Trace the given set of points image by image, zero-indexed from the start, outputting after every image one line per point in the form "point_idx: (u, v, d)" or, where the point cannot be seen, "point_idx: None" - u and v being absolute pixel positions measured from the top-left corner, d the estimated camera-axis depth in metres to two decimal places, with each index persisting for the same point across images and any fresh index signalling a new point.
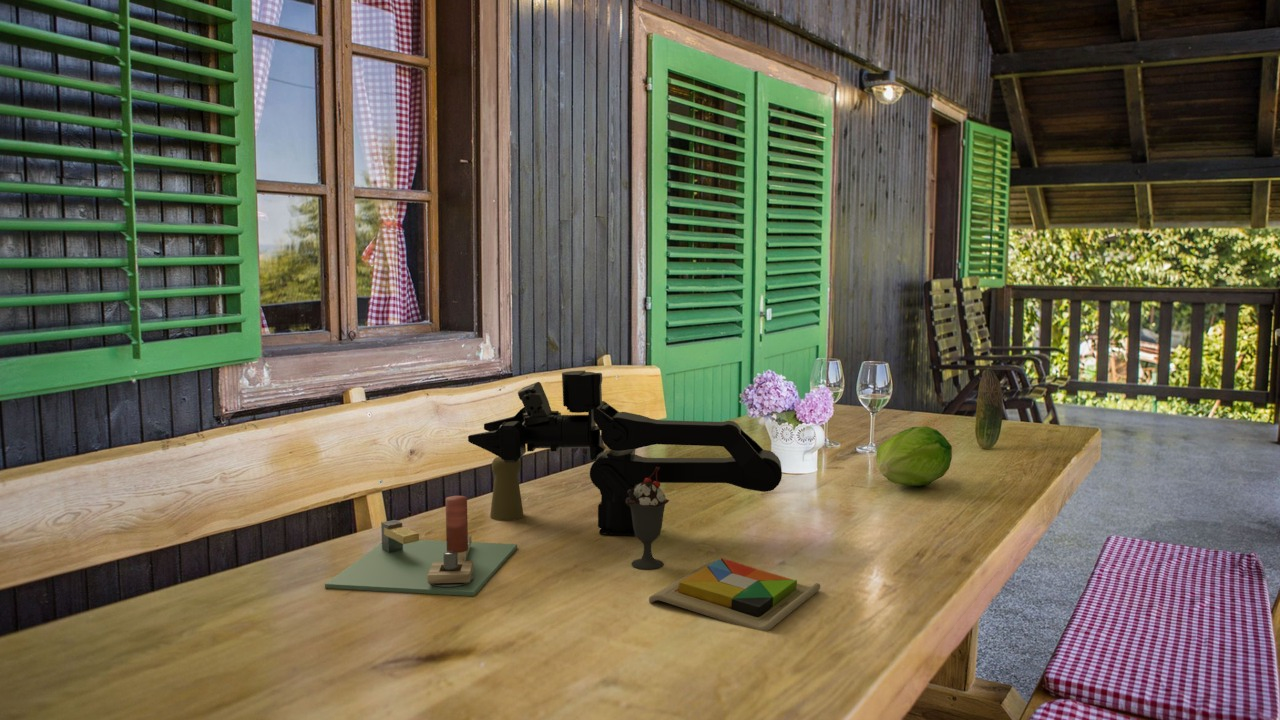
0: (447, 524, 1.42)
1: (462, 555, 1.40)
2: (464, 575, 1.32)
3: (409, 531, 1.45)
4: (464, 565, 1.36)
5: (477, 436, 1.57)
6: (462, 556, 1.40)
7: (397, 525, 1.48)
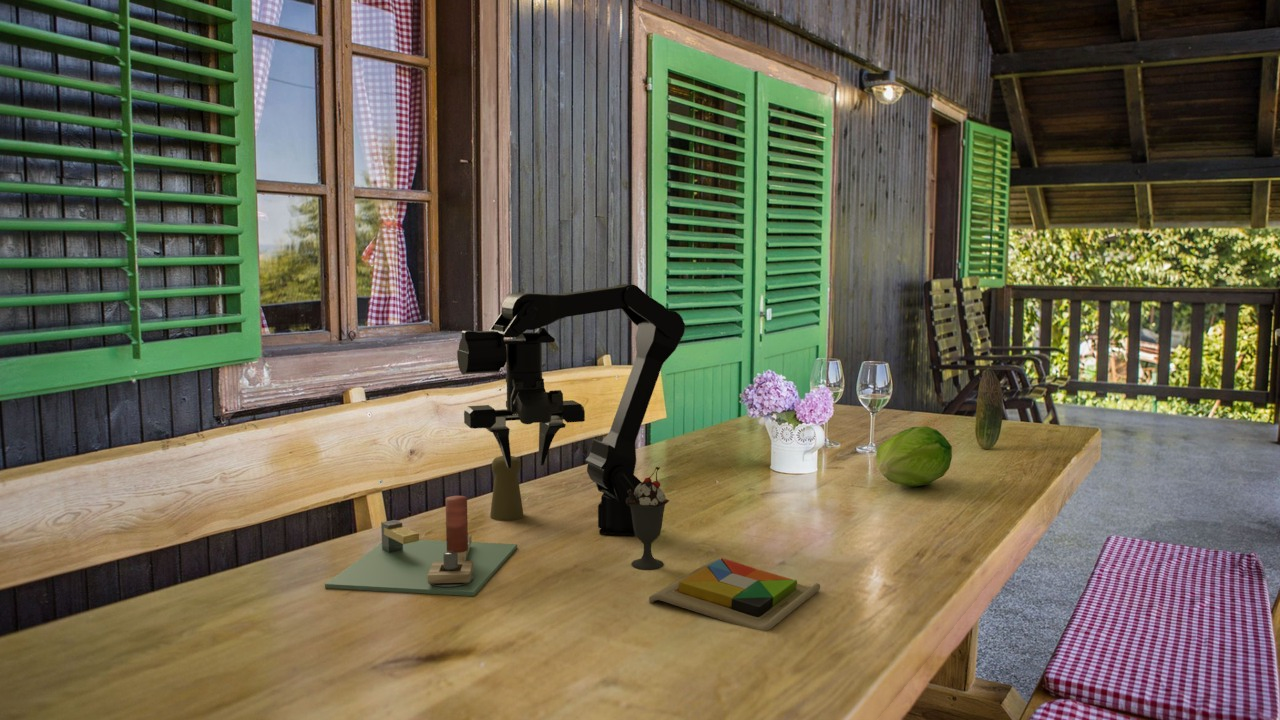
0: (447, 524, 1.42)
1: (462, 555, 1.40)
2: (464, 575, 1.32)
3: (409, 531, 1.45)
4: (464, 565, 1.36)
5: (546, 454, 1.53)
6: (462, 556, 1.40)
7: (397, 525, 1.48)
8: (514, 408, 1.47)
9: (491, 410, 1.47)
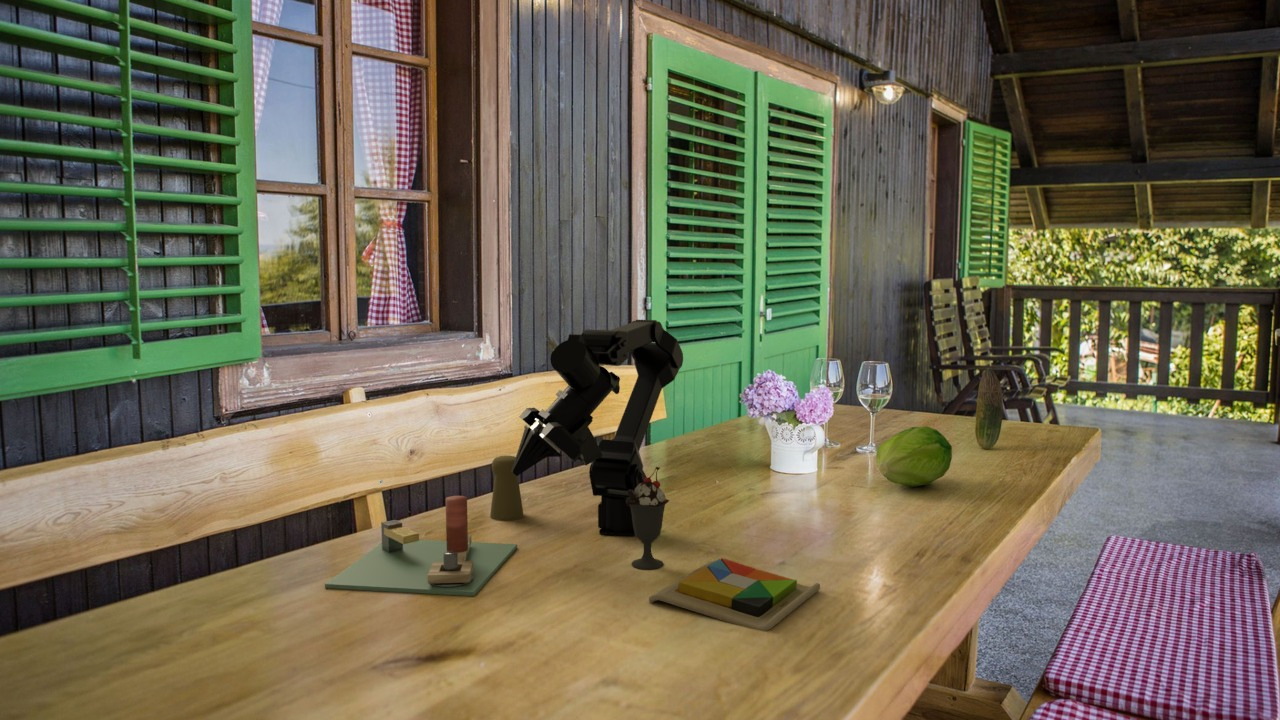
0: (447, 524, 1.42)
1: (462, 555, 1.40)
2: (464, 575, 1.32)
3: (409, 531, 1.45)
4: (464, 565, 1.36)
5: None
6: (462, 556, 1.40)
7: (397, 525, 1.48)
8: None
9: None
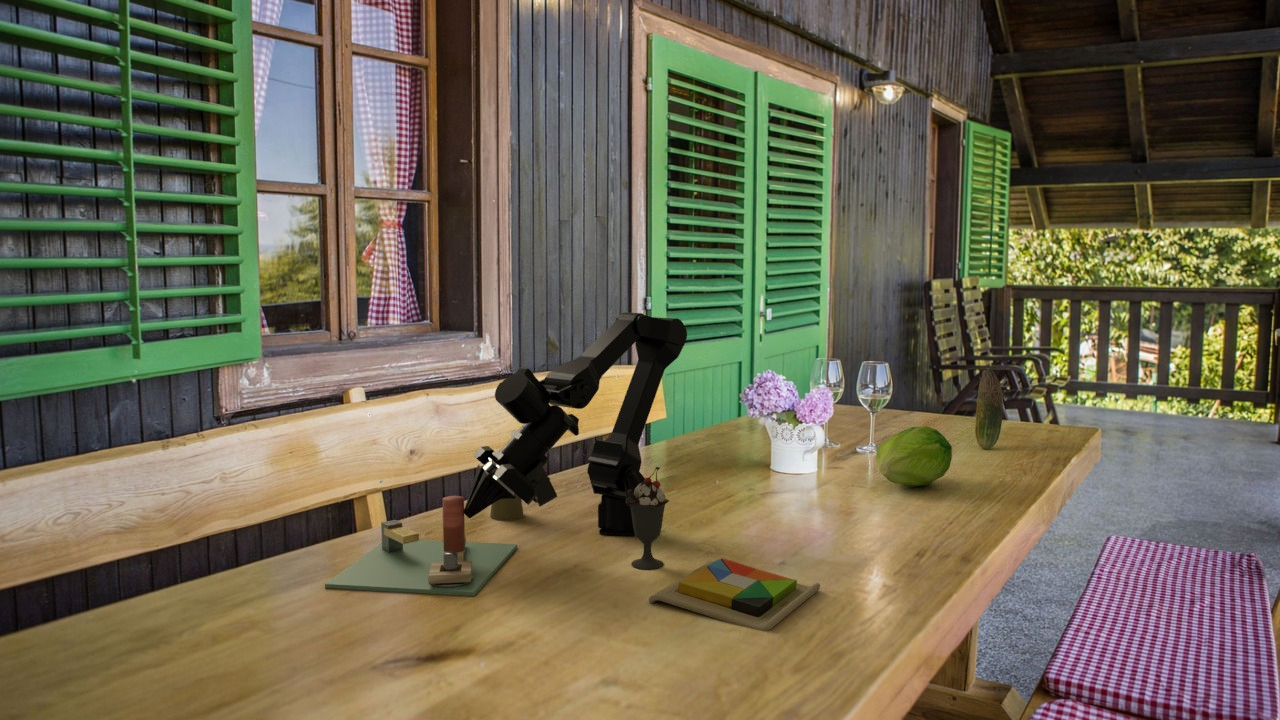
0: (444, 524, 1.42)
1: (460, 555, 1.40)
2: (465, 575, 1.32)
3: (409, 531, 1.45)
4: (464, 565, 1.36)
5: None
6: (461, 556, 1.40)
7: (397, 525, 1.48)
8: (530, 481, 1.43)
9: None
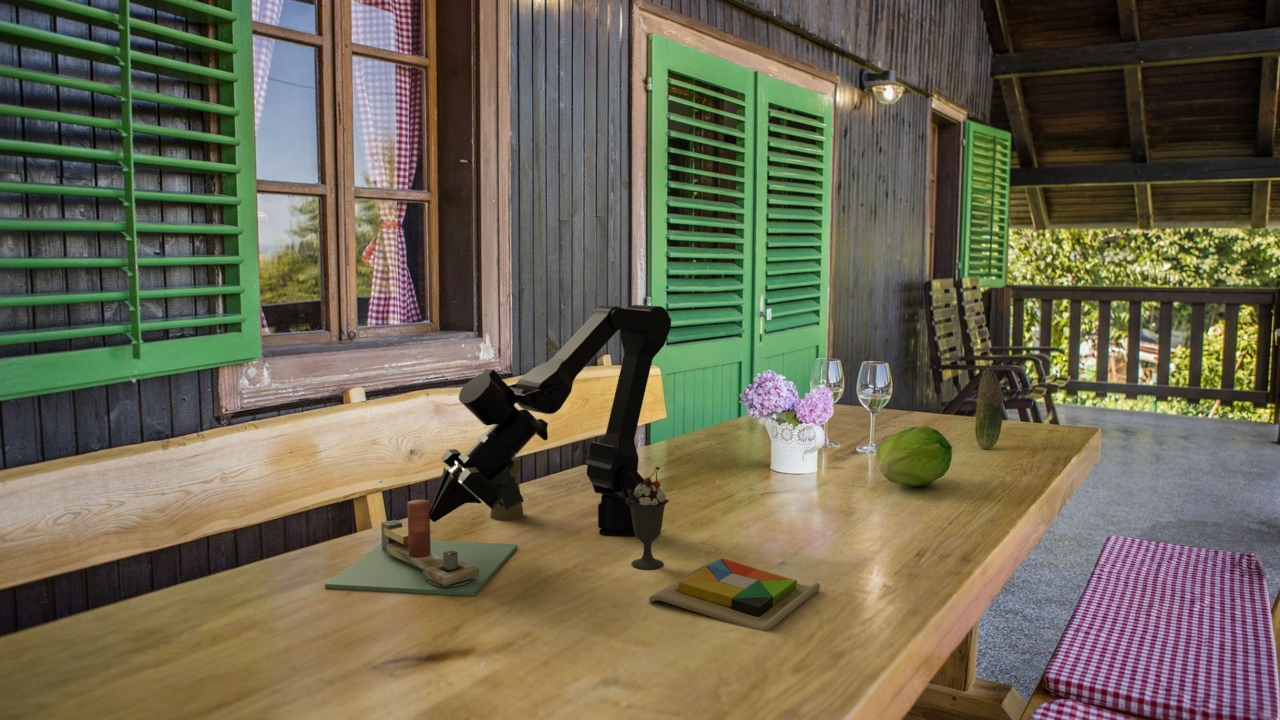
0: (414, 530, 1.39)
1: (436, 557, 1.39)
2: (475, 570, 1.34)
3: None
4: (458, 563, 1.37)
5: None
6: (439, 558, 1.39)
7: (397, 525, 1.48)
8: (496, 485, 1.42)
9: None
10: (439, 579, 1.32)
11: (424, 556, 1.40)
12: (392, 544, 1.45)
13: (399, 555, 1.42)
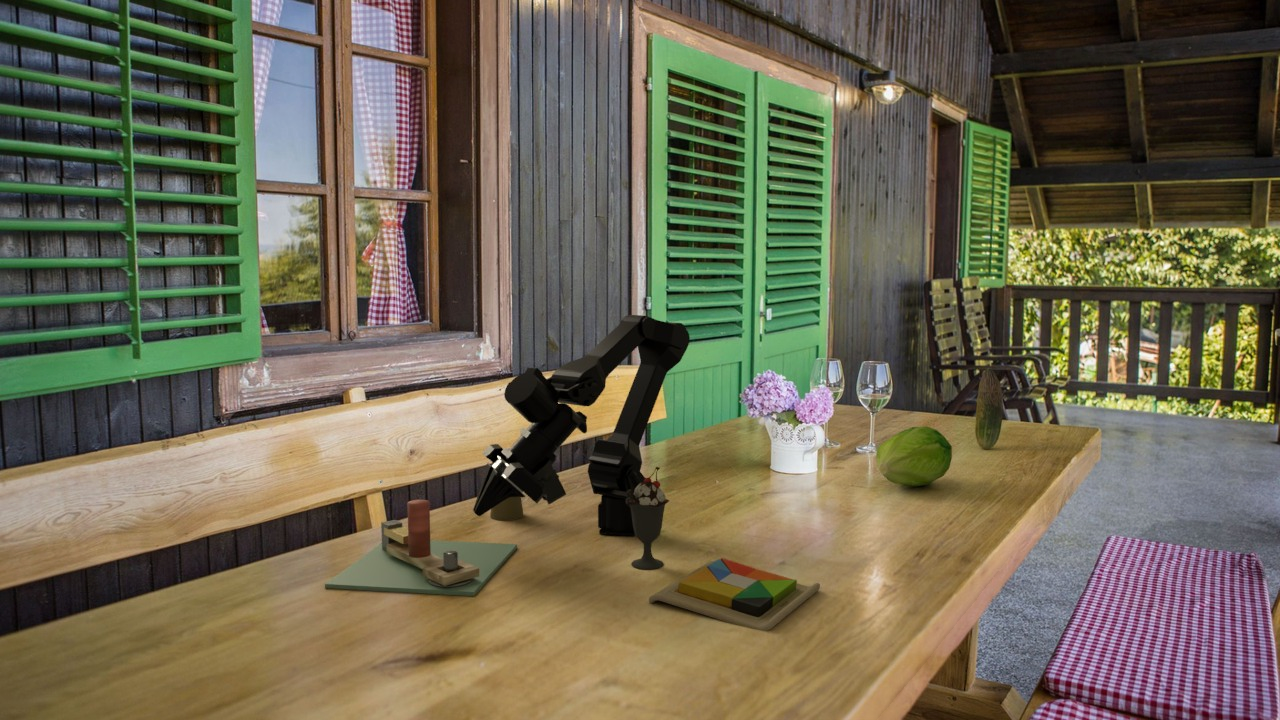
0: (414, 530, 1.39)
1: (436, 557, 1.39)
2: (475, 570, 1.34)
3: None
4: (458, 563, 1.37)
5: None
6: (439, 558, 1.39)
7: (397, 525, 1.48)
8: (539, 479, 1.44)
9: None
10: (439, 579, 1.32)
11: (424, 556, 1.40)
12: (392, 544, 1.45)
13: (399, 555, 1.42)
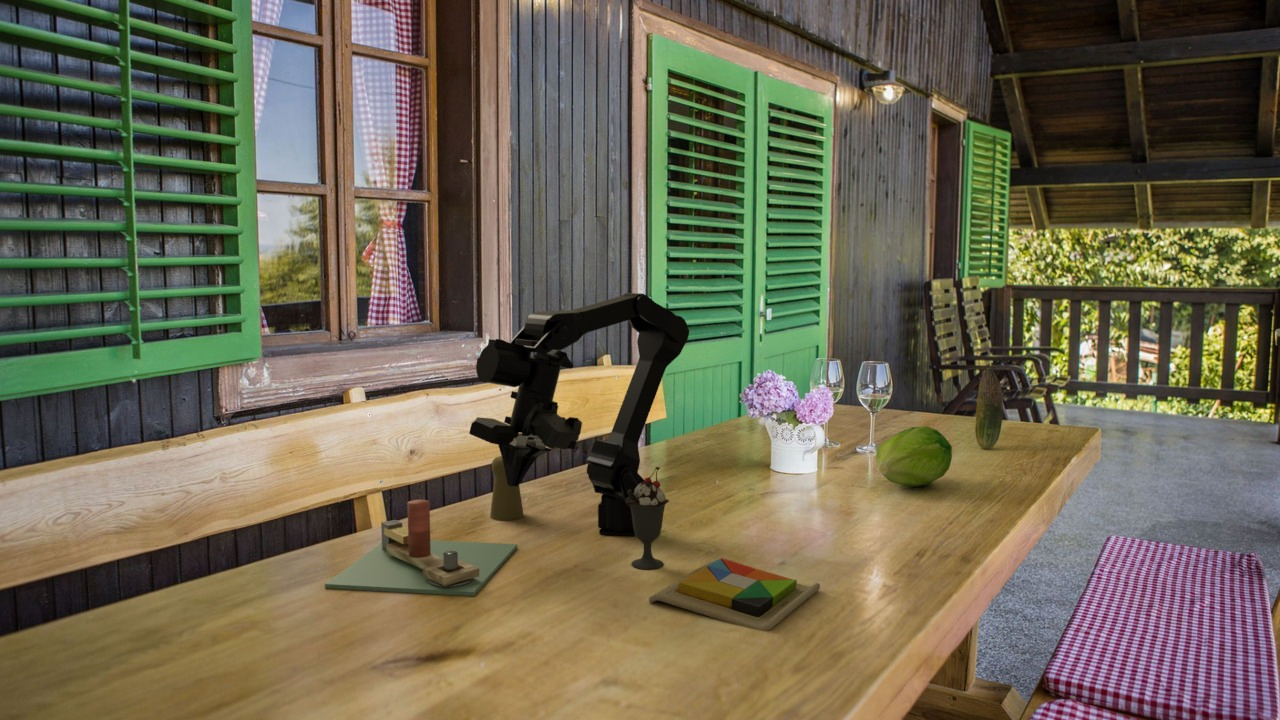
0: (414, 530, 1.39)
1: (436, 557, 1.39)
2: (475, 570, 1.34)
3: None
4: (458, 563, 1.37)
5: None
6: (439, 558, 1.39)
7: (397, 525, 1.48)
8: (530, 428, 1.44)
9: (510, 427, 1.42)
10: (439, 579, 1.32)
11: (424, 556, 1.40)
12: (392, 544, 1.45)
13: (399, 555, 1.42)
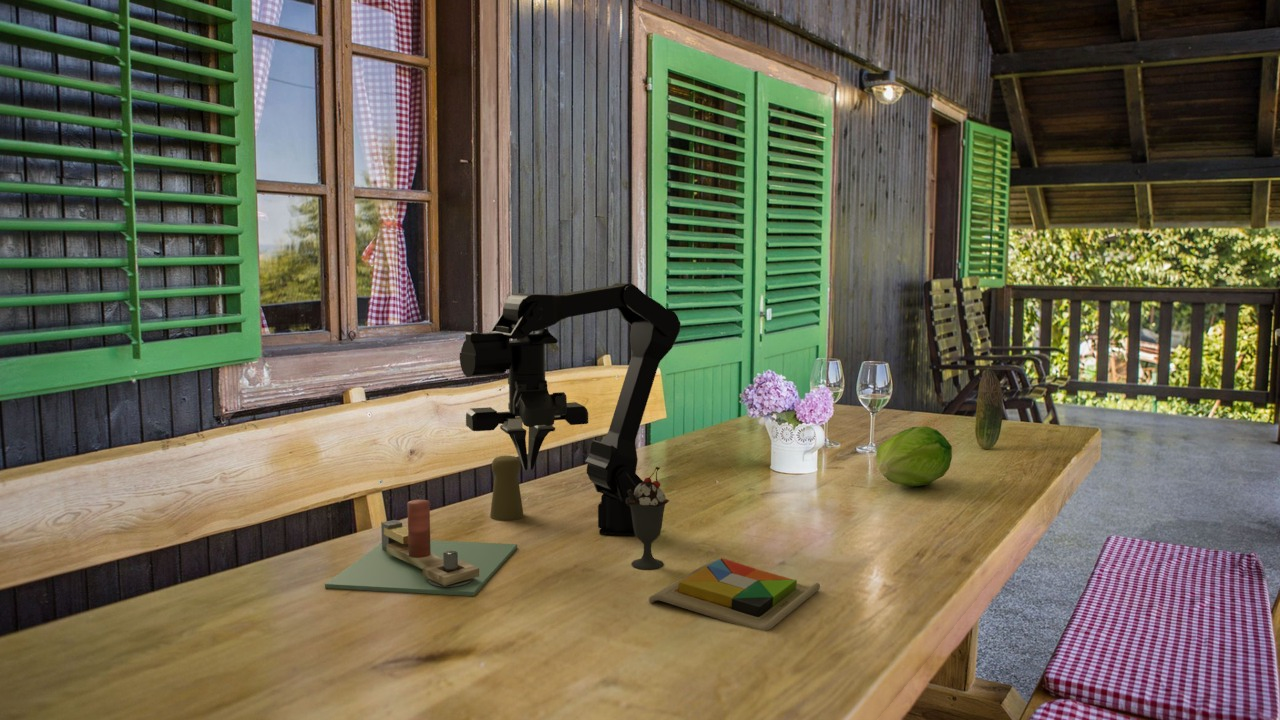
0: (414, 530, 1.39)
1: (436, 557, 1.39)
2: (475, 570, 1.34)
3: None
4: (458, 563, 1.37)
5: None
6: (439, 558, 1.39)
7: (397, 525, 1.48)
8: (517, 410, 1.45)
9: (493, 412, 1.45)
10: (439, 579, 1.32)
11: (424, 556, 1.40)
12: (392, 544, 1.45)
13: (399, 555, 1.42)
